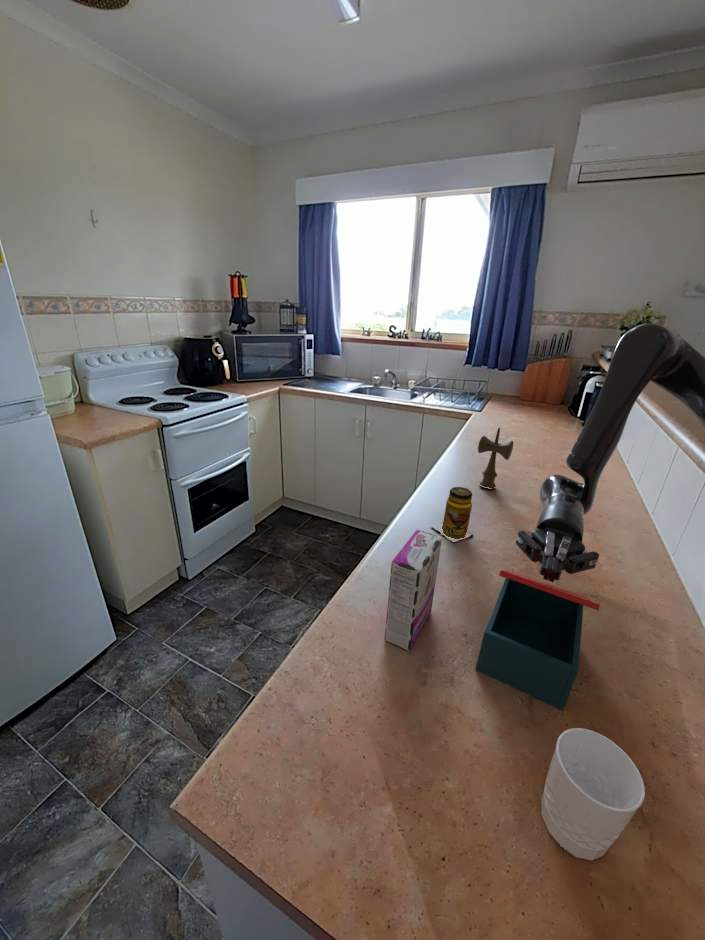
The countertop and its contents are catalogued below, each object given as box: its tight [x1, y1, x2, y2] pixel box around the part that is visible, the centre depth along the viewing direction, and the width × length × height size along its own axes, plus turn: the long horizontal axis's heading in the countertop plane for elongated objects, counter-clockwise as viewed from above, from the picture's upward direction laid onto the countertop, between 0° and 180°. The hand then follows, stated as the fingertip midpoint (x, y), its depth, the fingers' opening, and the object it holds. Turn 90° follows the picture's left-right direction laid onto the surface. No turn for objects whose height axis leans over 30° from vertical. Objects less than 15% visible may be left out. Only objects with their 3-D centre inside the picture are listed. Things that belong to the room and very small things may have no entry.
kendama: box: [477, 427, 514, 488], centre depth 123 cm, size 6×10×20 cm, turn 58°
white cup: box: [540, 727, 646, 862], centre depth 42 cm, size 8×8×10 cm
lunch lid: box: [498, 569, 601, 611], centre depth 62 cm, size 17×13×1 cm
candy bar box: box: [384, 529, 443, 652], centre depth 67 cm, size 11×5×16 cm, turn 151°
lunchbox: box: [475, 577, 584, 711], centre depth 65 cm, size 17×13×8 cm
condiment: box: [442, 486, 473, 539], centre depth 98 cm, size 7×8×12 cm
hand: (549, 575), depth 59 cm, fingers closed
